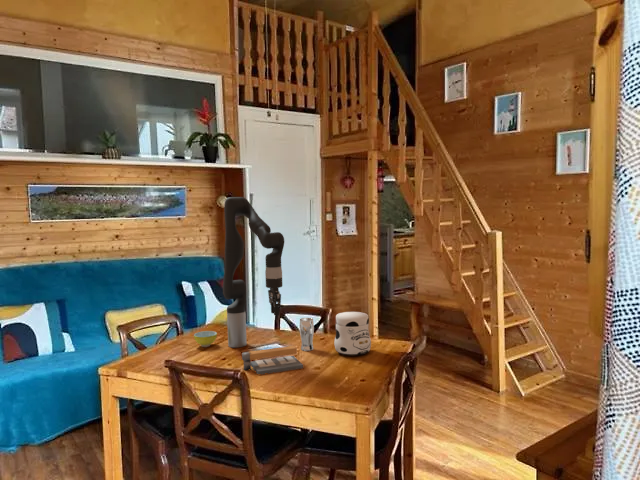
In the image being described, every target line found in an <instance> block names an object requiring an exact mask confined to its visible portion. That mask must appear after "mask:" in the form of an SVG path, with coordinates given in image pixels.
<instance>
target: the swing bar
mask: <svg viewBox="0 0 640 480" xmlns="http://www.w3.org/2000/svg"><path fill="white" fill-rule="evenodd" d="M297 352H298V349H297V347H296V345H290V346H282V347H274V348H266V349H258V350H250V351H244V352H242V353H241V357H242V358H241V360H250V361H252V360H253V361H255V360H262V359H270V358H277V357H284V356H292V355H297V354H298V353H297Z"/></svg>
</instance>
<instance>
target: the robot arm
mask: <svg viewBox="0 0 640 480" xmlns="http://www.w3.org/2000/svg"><path fill="white" fill-rule="evenodd" d="M223 206H224V207H223V209H224V223H225V225H224V227H225V229H224V230H225V236H224V239H225V241H224V271H223V273H224V274H223V283H222V294H223V298H224V299H225V300H235V301H233V302H232V303H231V304H230V305H227V307H226V319H227V324H226V325H227V343H228V344H227V345H228V346H227V347H229V348H242V347H245V346H247V345H248V344H247V318H246V316H247V315H246V307H247V286H246V283H245V281H244V280H243V279H234V275H235V272H236V269H238V266H239V265H240V263H241V261H242V260H243V258H244V254H245V253H244V252H245V242H244V239H243V237H242V235H241V234H240V232H239V230H238V227H237V226H236V225H237V224H236V217H241V216H244V217H245V218H246V219H248V227H249V228H250V231H251V232H253V233H254V234H255V236H256V237H257V238H258V240H259V242H260V244H261V247H263V248H265V249H267V250H268V249H272V250H271V252H270V253H267V254H266V255H265V287H266V288H267V289H268V290H267V293H268V303H269V304H270V311H271V314H273V316H279V315H280V309H279V307H281V303H282V301H281V300H282V294H281V293H280V291H279V288H282V287H283V270H282V255H283V251H284V247H285V237H284V235H283V233H281V232H271V227H270V226H269V224H268V223H266V222H265V221H264V220H263V219H262V218H261V217H260V216H259V214H258V213H257V212H256V210H255V208H254V207H253V206H252V204H251V203H250V201H249V200H248V199H247V198H246V197H244V196H230V197H226V199H225V201H224V205H223Z"/></svg>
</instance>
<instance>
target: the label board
mask: <svg viewBox="0 0 640 480" xmlns="http://www.w3.org/2000/svg"><path fill="white" fill-rule="evenodd" d="M250 361H251V368H252V367H253V368H252V369H253V370H254V371H256V372H255V373H256V375H257V374H261V375H266V374H265V373H268V374H274V373H281V372H286V371H287V372H288V371H292V370H293V371H294V370H300V369H304V364H303V363H302V362H301V361H299V359H298V358H297V357H296V356H295V355H284V356H277V357H272V358H262V359H255V360H253V361H252V360H250ZM273 372H274V373H273Z"/></svg>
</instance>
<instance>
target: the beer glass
mask: <svg viewBox="0 0 640 480" xmlns="http://www.w3.org/2000/svg"><path fill="white" fill-rule="evenodd" d="M314 324H315V323H314V318H313V317H301V318H299V334H300V339H301V347H300V350H301V352H302V351H303V352H311V351H313V350H314V344H313V341H314V331H315V326H314Z"/></svg>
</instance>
